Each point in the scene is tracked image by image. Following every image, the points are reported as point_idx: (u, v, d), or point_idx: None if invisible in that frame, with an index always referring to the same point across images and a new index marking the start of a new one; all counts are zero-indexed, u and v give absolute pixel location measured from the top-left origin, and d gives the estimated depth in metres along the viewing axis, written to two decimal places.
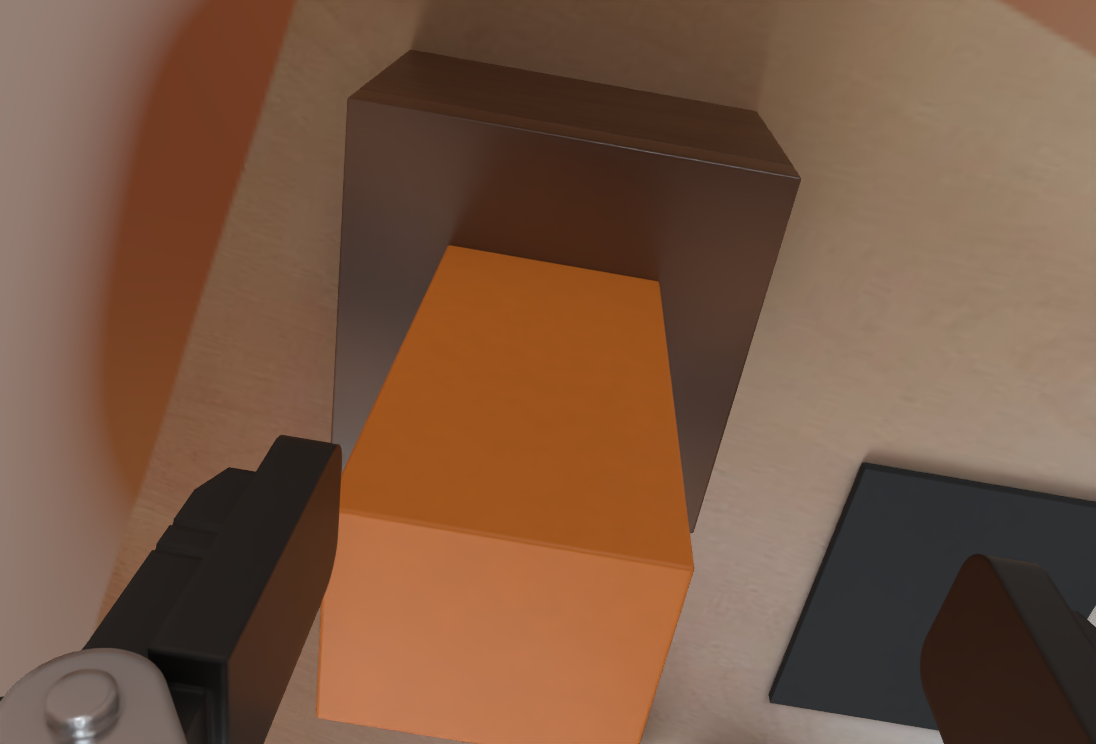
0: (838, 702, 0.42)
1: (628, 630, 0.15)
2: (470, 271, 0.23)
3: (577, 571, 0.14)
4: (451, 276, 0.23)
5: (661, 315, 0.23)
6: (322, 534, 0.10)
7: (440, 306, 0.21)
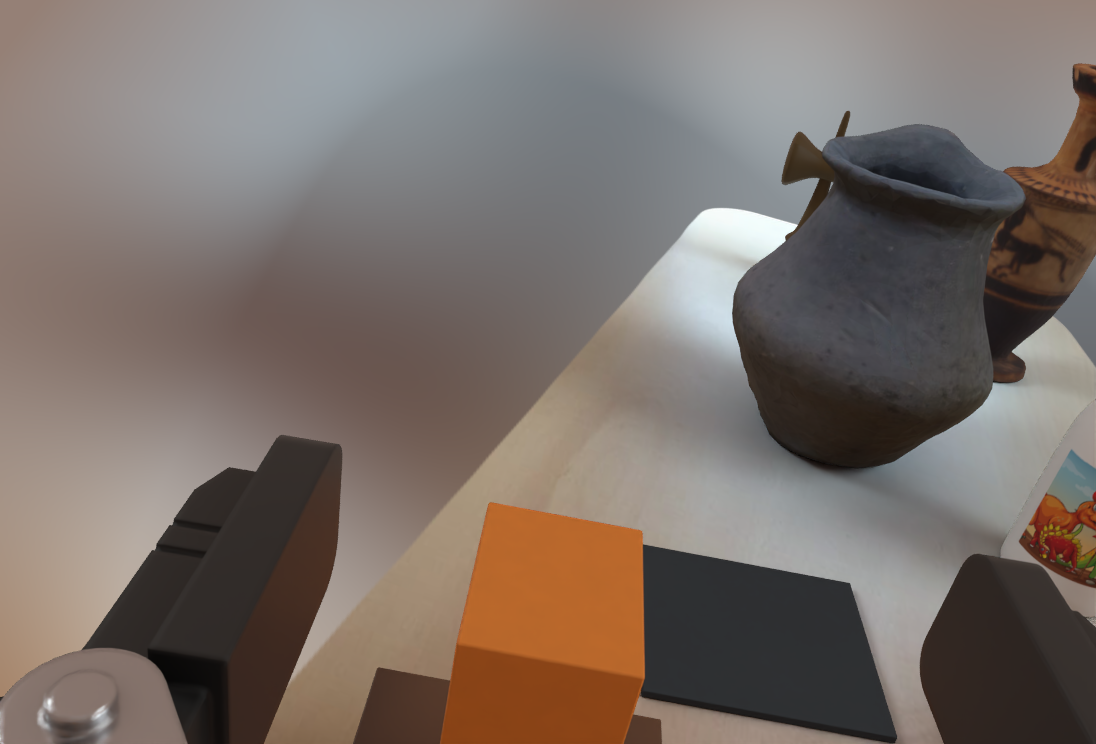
0: (870, 688, 0.50)
1: (533, 525, 0.27)
2: None
3: (495, 541, 0.26)
4: None
5: None
6: (322, 534, 0.10)
7: None
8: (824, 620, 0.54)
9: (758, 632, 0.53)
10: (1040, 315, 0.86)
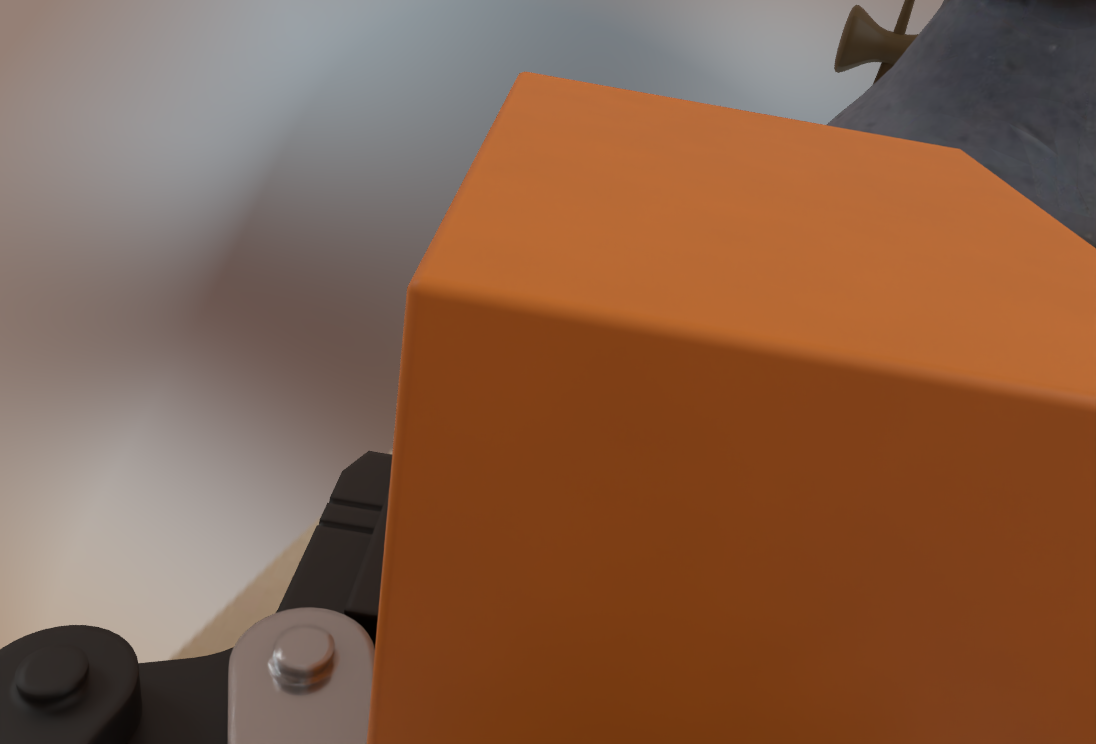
0: None
1: (659, 109, 0.09)
2: None
3: (548, 111, 0.08)
4: None
5: None
6: None
7: None
8: None
9: None
10: None
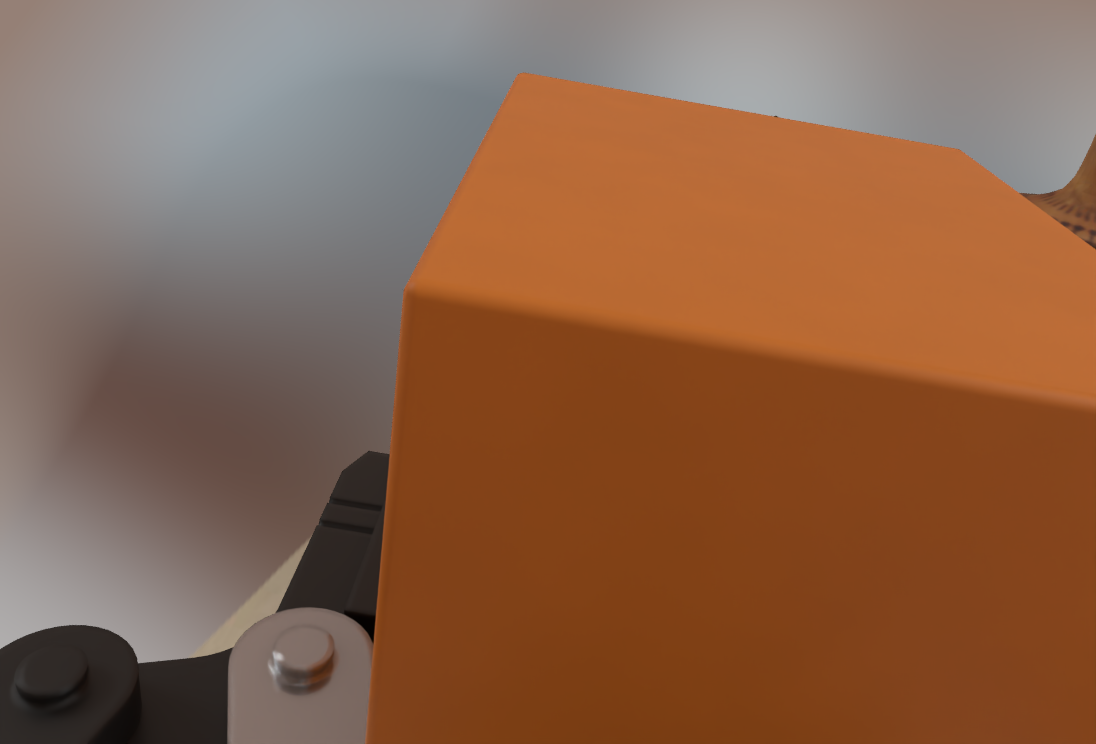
0: None
1: (658, 108, 0.09)
2: None
3: (545, 113, 0.08)
4: None
5: None
6: None
7: None
8: None
9: None
10: None
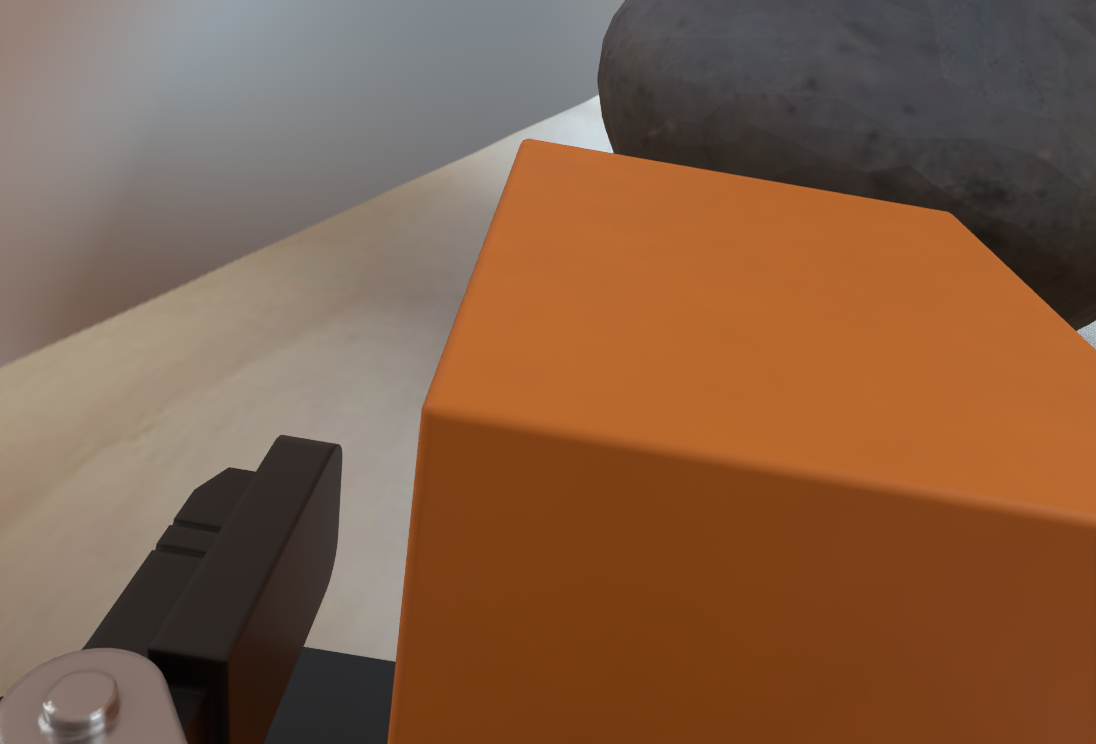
0: None
1: (658, 177, 0.09)
2: None
3: (551, 190, 0.08)
4: None
5: None
6: (322, 534, 0.10)
7: None
8: None
9: None
10: None
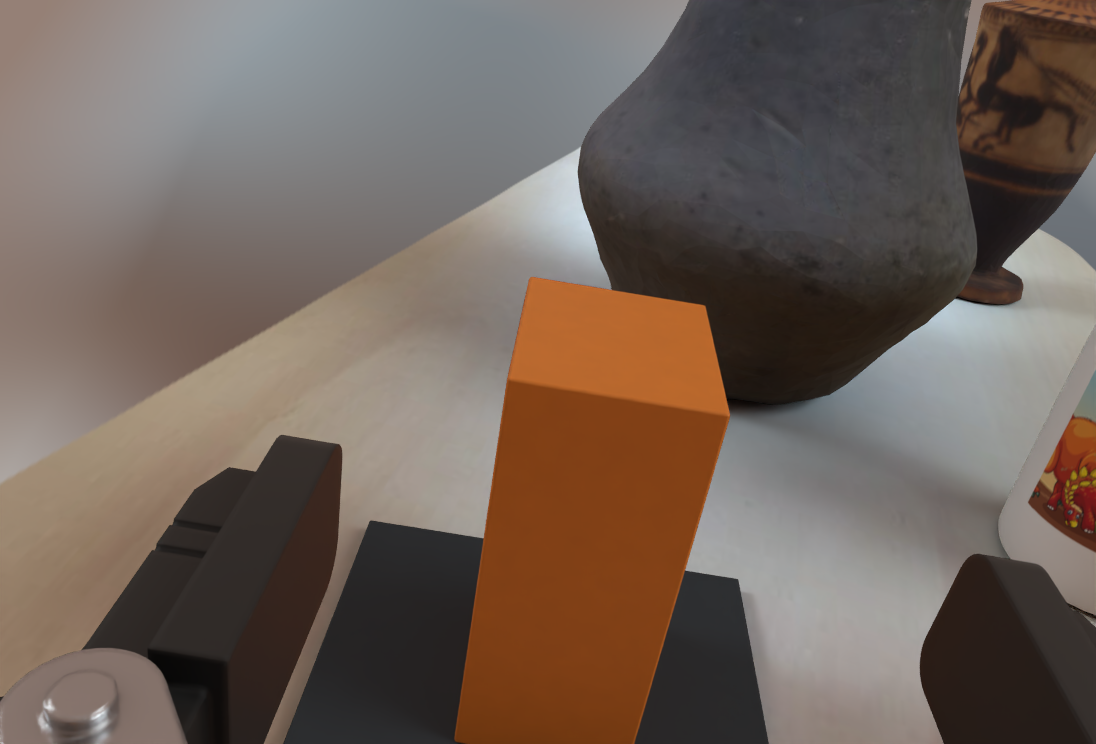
0: None
1: (582, 295, 0.24)
2: None
3: (541, 304, 0.23)
4: None
5: None
6: (322, 534, 0.10)
7: None
8: (681, 648, 0.30)
9: None
10: (1041, 203, 0.62)
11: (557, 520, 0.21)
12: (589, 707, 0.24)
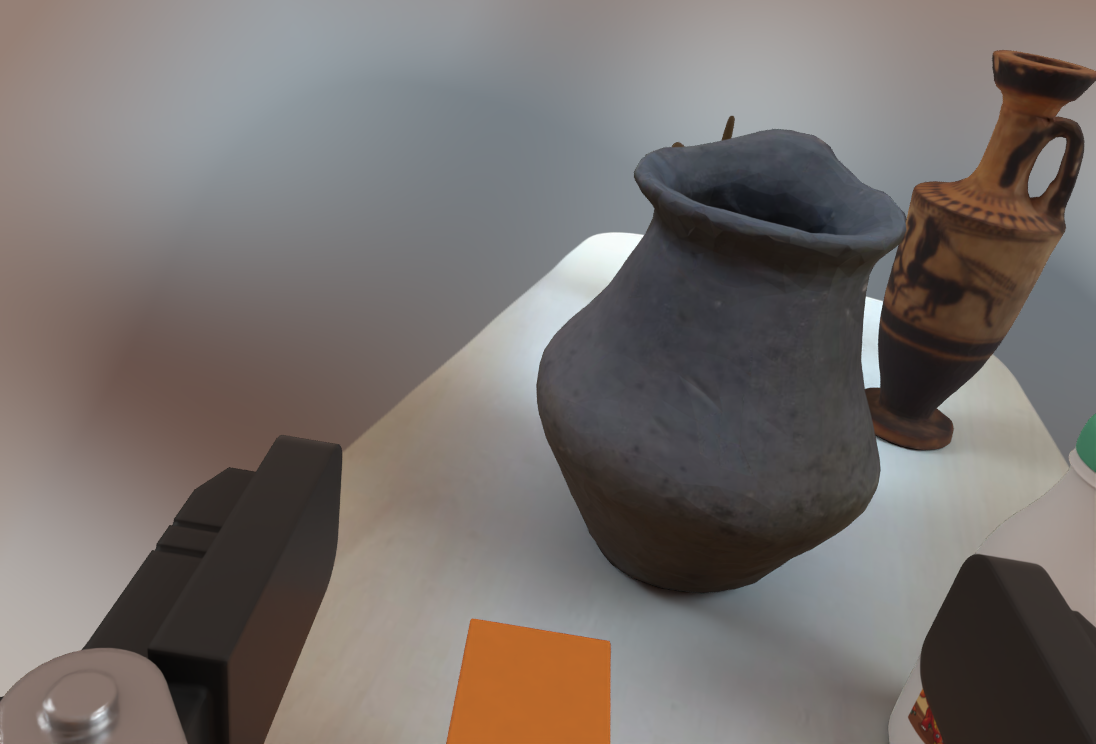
0: None
1: (511, 640, 0.30)
2: None
3: (476, 659, 0.29)
4: None
5: None
6: (322, 534, 0.10)
7: None
8: None
9: None
10: (964, 367, 0.68)
11: None
12: None
